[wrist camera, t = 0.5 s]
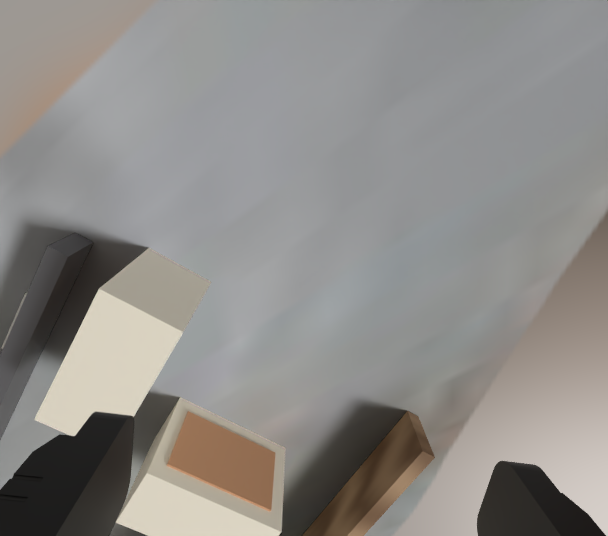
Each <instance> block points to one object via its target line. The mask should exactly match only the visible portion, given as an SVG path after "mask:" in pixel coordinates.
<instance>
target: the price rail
mask: <svg viewBox="0 0 608 536" xmlns="http://www.w3.org/2000/svg"><path fill="white" fill-rule="evenodd" d="M92 244H93V242H92V241H90V240H88V239H86V238H84V237H82V236H80V235H79V234H77V233H74V234H71V235H69V236H67V237H65V238H63V239H61V240H59V241H57V242H55V243H53V244H51V245H49V246H47V249H46V251H45V253H44V255H43V258H42V260H41V262H40V265H39V267H38V269H37V272H36V274H35V276H34V278H33V281H32V283H31V285H30V288H29V290H28V292H26V293H25V294H24V297H23V299H22V301H21V304H20V306H19V308H18V311H17V313H16V315H15V318H14V320H13V322H12V324H11V327H10V329H9V331H8V334H7V336H6V338H5V341H4V343H3V345H2V348H1V349H3V350H2V352H1V355H0V439H1V437H2V435H3V433H4V431H5V429H6V427H7V425H8V422H9V420H10V418H11V416H12V414H13V412H14V410H15V408H16V405H17V403H18V401H19V399H20V397H21V395H22V393H23V391H24V388H25V386H26V384H27V382H28V380H29V378H30V376H31V374H32V371H33V369H34V367H35V365H36V363H37V361H38V359H39V356H40V354H41V352H42V350H43V348H44V346H45V344H46V342H47V339H48V337H49V335H50V333H51V331H52V329H53V327H54V325H55V322H56V320H57V318H58V316H59V314H60V312H61V310H62V308H63V305H64V303H65V301H66V299H67V297H68V295H69V293H70V291H71V288H72V286H73V284H74V282H75V280H76V278H77V276H78V274H79V271H80V269H81V267H82V265H83V263H84V261H85V259H86V256H87V254H88V252H89V250H90V248H91V246H92Z"/></svg>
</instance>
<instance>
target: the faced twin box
mask: <svg viewBox="0 0 608 536" xmlns="http://www.w3.org/2000/svg"><path fill="white" fill-rule="evenodd" d="M210 284H211V282H210V281H209V280H207V279H205V278H203V277H201V276H200V275H198V274H196V273H194V272H192V271H190V270H189V269H187V268H185V267H183V266H181V265H179V264H178V263H176V262H174V261H172V260H170V259H168V258H167V257H165V256H163V255H161V254H159V253H158V252H156V251H154V250H152V249H150V248H148V249H147V250H146V251H144V252H143V253H142V254H141V255H139V256H138V257H137V258H136V259H135V260H133V261H132V262H131V263H130V264H128V265H127V266H126V267H125V268H124V269H122V270H121V271H120V272H119V273H117V274H116V275H115V276H114V277H113V278H111V279H110V280H109V281H108V282H106V283H105V284H104V285H103V286H101V287H100V288H99V289H98V292H97V294H96V296H95V298H94V300H93V302H92V304H91V306H90V308H89V310H88V312H87V314H86V316H85V318H84V320H83V322H82V324H81V326H80V328H79V330H78V332H77V334H76V336H75V338H74V340H73V342H72V344H71V346H70V348H69V350H68V352H67V354H66V356H65V358H64V360H63V362H62V364H61V366H60V369H59V371H58V373H57V375H56V377H55V379H54V381H53V383H52V385H51V387H50V389H49V391H48V393H47V395H46V397H45V399H44V401H43V403H42V405H41V407H40V409H39V411H38V413H37V415H36V417H35V419H34V420H36V421H38V422H41V423H43V424H45V425H47V426H50V427H52V428H54V429H57V430H59V431H61V432H63V433H66V434H68V435H70V436H75V435H76V434H77V433H78V431H79V430H80V429H81V427H82V426H83V425H84V423H85V422H86V421H87V419H88V418H89V417H90V416H91V414H92V413H94V412H105V413H114V414H122V415H131V416H133V417H134V415H135V414H136V412H137V410H138V409H139V407H140V405H141V404H142V402H143V400H144V398H145V397H146V395H147V393H148V392H149V390H150V388H151V386H152V385H153V383H154V381H155V380H156V378H157V376H158V375H159V373H160V371H161V369H162V368H163V366H164V364H165V363H166V361H167V359H168V358H169V356H170V354H171V352H172V351H173V349H174V347H175V346H176V344H177V342H178V341H179V339H180V337H181V335H182V334H183V332H184V330H185V328H186V327H187V325H188V323H189V321H190V320H191V318H192V316H193V314H194V312H195V311H196V309H197V307H198V305H199V303H200V302H201V300H202V298H203V296H204V295H205V293H206V291H207V289H208V287H209V286H210Z"/></svg>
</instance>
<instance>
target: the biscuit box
mask: <svg viewBox="0 0 608 536" xmlns="http://www.w3.org/2000/svg"><path fill="white" fill-rule="evenodd" d="M284 467H285V447H283V446H280V445H278V444H276V443H274V442H272V441H270V440H268V439H266V438H264V437H262V436H260V435H258V434H256V433H253V432H251V431H249V430H247V429H245V428H243V427H241V426H239V425H237V424H235V423H233V422H231V421H229V420H227V419H224V418H222V417H220V416H218V415H216V414H214V413H212V412H210V411H208V410H206V409H204V408H202V407H200V406H197V405H195V404H193V403H191V402H189V401H187V400H185V399H183V398H181V397H180V398H179V400H178V401H177V403H176V405H175V406H174V408H173V409H172V411H171V413H170V414H169V416H168V418H167V419H166V421H165V422H164V424H163V426H162V427H161V429H160V430H159V432H158V434H157V435H156V437H155V438H154V440H153V443H152V445H151V447H150V449H149V451H148V453H147V456H146V458H145V460H144V462H143V464H142V466H141V469H140V471H139V473H138V475H137V477H136V479H135V481H134V484H133V486H132V488H131V490H130V492H129V494H128V497H127V499H126V501H125V503H124V505H123V507H122V510H121V512H120V514H119V516H118V518H117V520H116V523H118V524H120V525H123V526H125V527H128V528H130V529H133V530H135V531H138V532H140V533H143V534H145V535H147V536H279V535H280V533H281V532H282V513H283V490H284Z"/></svg>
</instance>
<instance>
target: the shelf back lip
mask: <svg viewBox="0 0 608 536" xmlns="http://www.w3.org/2000/svg"><path fill="white" fill-rule="evenodd" d="M434 458H435V457H434V454H433V452H432V449H431V447H430V444H429V442H428V439H427V437H426V435H425V432H424V430H423V427H422V425H421V422H420V420H419V417H418V416H416V415H414V414H412V413H411V412H409V411H407V412H406V413H405V414H404V416H403V417H402V418H401V419H400V420H399V421H398V423H397V424H396V425H395V426H394V427H393V429H392V430H391V431H390V432H389V433H388V434H387V436H386V437H385V438H384V439H383V440H382V442H381V443H380V444H379V445H378V446H377V448H376V449H375V450H374V451H373V452H372V453H371V455H370V456H369V457H368V458H367V459H366V461H365V462H364V463H363V464H362V465H361V466H360V468H359V469H358V470H357V471H356V472H355V474H354V475H353V476H352V477H351V478H350V479H349V481H348V482H347V483H346V484H345V485H344V487H343V488H342V489H341V490H340V491H339V492H338V494H337V495H336V496H335V497H334V498H333V500H332V501H331V502H330V503H329V504H328V506H327V507H326V508H325V509H324V510H323V511H322V513H321V514H320V515H319V516H318V517H317V519H316V520H315V521H314V522H313V523H312V524H311V526H310V527H309V528H308V529H307V530H306V532H305V533H304V534H303V535H302V536H364V535H365V533H366V532H367V531H368V530H369V529H370V528H371V527H372V526H373V525H374V524H375V522H376V521H377V520H378V519H379V518H380V517H381V516H382V515H383V514H384V513H385V512H386V510H387V509H388V508H389V507H390V506H391V505H392V504H393V503H394V502H395V501H396V499H397V498H398V497H399V496H400V495H401V494H402V493H403V492H404V491H405V490H406V488H407V487H408V486H409V485H410V484H411V483H412V482H413V481H414V480H415V479H416V478H417V476H418V475H419V474H420V473H421V472H422V471H423V470H424V469H425V468H426V467H427V465H428V464H429V463H430V462H431V461H432V460H433V459H434Z"/></svg>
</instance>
